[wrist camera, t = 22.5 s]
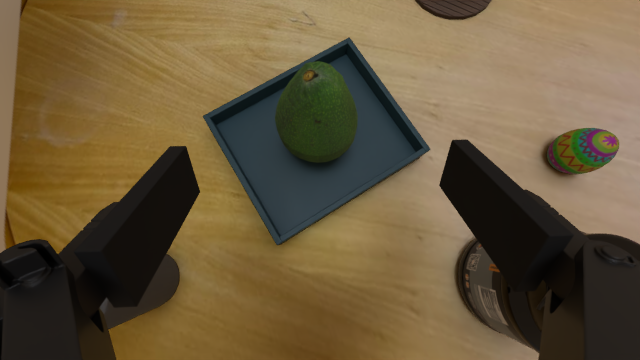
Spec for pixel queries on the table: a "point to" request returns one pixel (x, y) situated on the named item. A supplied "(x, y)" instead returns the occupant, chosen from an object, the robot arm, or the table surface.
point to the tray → (310, 177)
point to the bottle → (146, 295)
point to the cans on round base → (454, 7)
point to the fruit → (316, 114)
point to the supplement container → (512, 293)
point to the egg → (582, 150)
